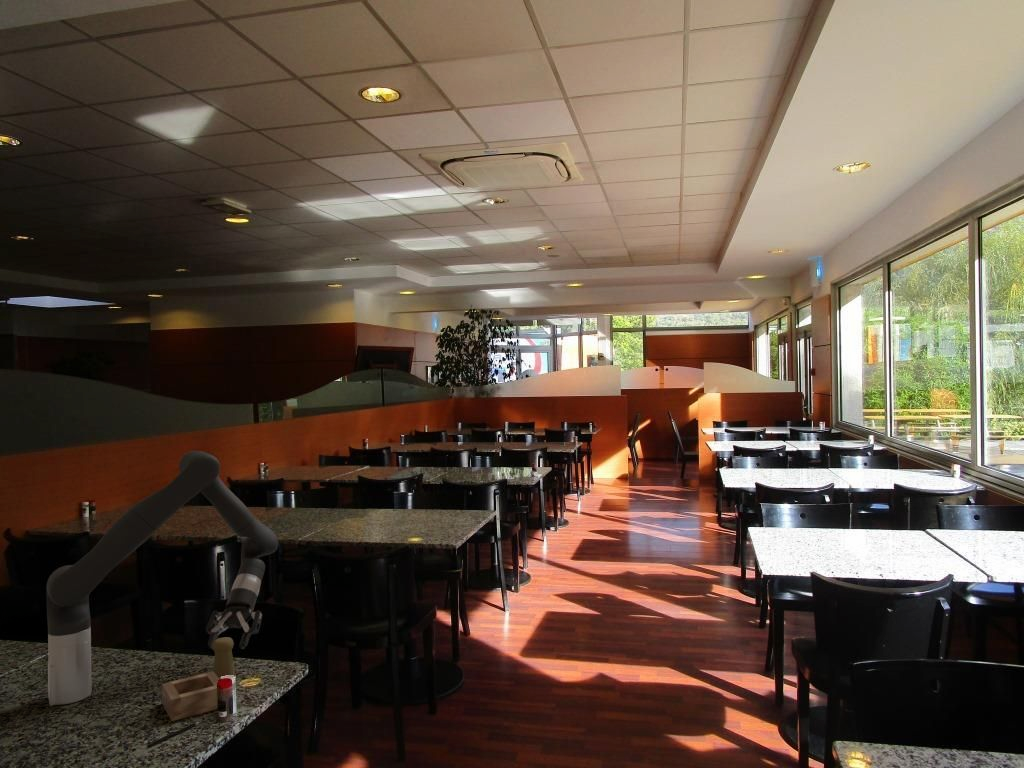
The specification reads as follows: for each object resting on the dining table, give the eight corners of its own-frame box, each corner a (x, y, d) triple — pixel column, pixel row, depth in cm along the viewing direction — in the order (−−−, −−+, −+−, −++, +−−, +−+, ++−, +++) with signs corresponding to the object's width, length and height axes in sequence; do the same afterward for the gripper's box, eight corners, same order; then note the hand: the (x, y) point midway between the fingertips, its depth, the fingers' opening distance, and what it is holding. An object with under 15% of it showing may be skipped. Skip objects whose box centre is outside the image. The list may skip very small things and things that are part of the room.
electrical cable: (197, 725, 161) (196, 720, 161) (199, 725, 161) (199, 721, 161) (146, 748, 151) (146, 743, 151) (149, 749, 150) (149, 744, 150)
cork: (227, 684, 183) (226, 643, 183) (206, 683, 184) (205, 642, 185) (240, 675, 189) (239, 635, 189) (220, 674, 190) (219, 634, 190)
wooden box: (171, 721, 163) (171, 699, 163) (162, 703, 172) (162, 683, 172) (225, 706, 170) (225, 686, 170) (213, 690, 179) (213, 671, 180)
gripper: (215, 587, 198) (195, 641, 186) (264, 586, 197) (247, 641, 186) (224, 600, 203) (206, 654, 192) (272, 599, 202) (256, 653, 191)
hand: (226, 647), depth 189 cm, fingers open, 8 cm apart
